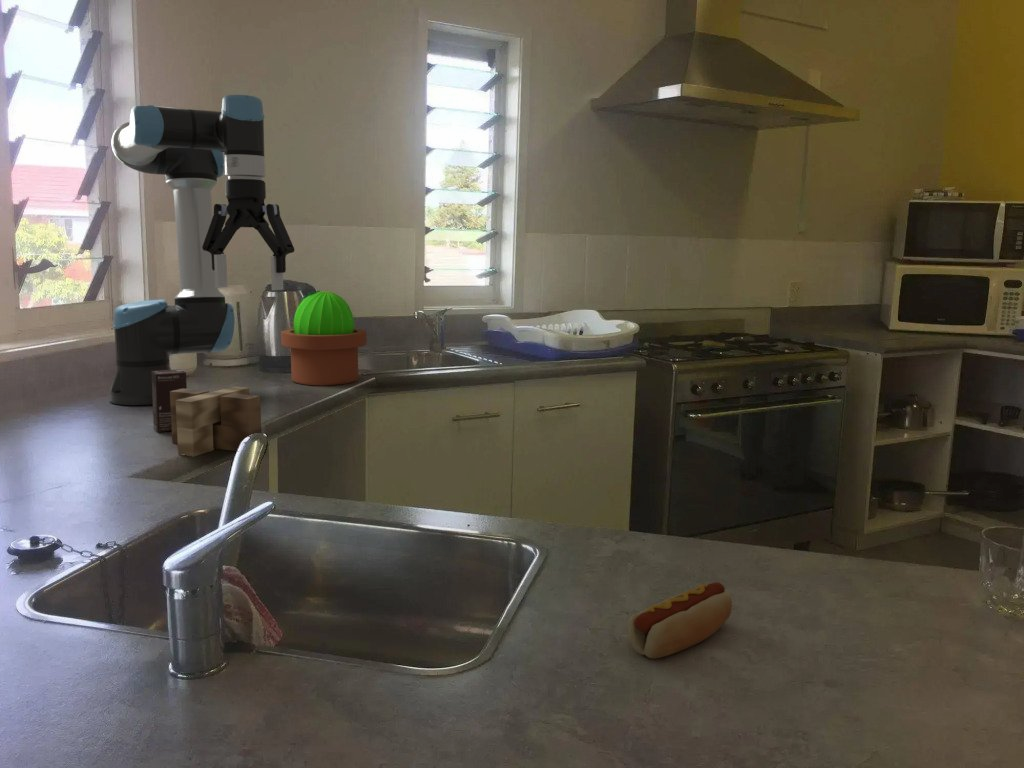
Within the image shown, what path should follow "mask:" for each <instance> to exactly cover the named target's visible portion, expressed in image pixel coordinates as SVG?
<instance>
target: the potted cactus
mask: <svg viewBox="0 0 1024 768" xmlns="http://www.w3.org/2000/svg"><path fill="white" fill-rule="evenodd" d="M346 300H347V299H344V298H343V297H342V296H340V295H339V294H337V293H335V291H329V290H327V291H325V290H323V291H321V290H316V291H314V290H312V291H310V292H308V293H307V295H304V296H303V297H302V298H301V300H299V302H298V303H299V304H298V305H297V306H295V307H294V308H296V309H295V310H296V311H295V312H294V318H293V322H292V323H291V324H292V325H293V326H292V325H291V328H290V329H289V328H288V329H285V330H282V331H281V332H280V338H281V346H283V347H285V348H288V349H289V348H290V366H291V367H290V368H291V369H290V370H291V371H290V372H291V381H292V382H294V383H296V384H300V385H307V386H318V387H319V386H323V387H324V386H338V385H344V384H351V383H354V382H357V381H358V380H359V348H360V347H361V348H362V347H365V346H366V345H367V343H368V342H367V339H368V338H367V336H368V335H367V331H366V330H365V329H360V328H355V327H356V326H357V324H355V319H354V314H353V313H352V311H353V309H352V310H351V307H350V306H351V304H349V303H347V302H346ZM300 301H301V302H300Z"/></svg>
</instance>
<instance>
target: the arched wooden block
mask: <svg viewBox="0 0 1024 768" xmlns="http://www.w3.org/2000/svg"><path fill="white" fill-rule="evenodd" d="M232 393H234V394H244V395H250V387H243V386H231V387H227V388H224V389H218V390H214V391H209V393H205V394H200V395H196V396H192V397H187V398H183V399H179V400H176V420H177V440H178V444H177V455H178V454H185V455H186V457H193V458H194V457H197V456H200V455H204V454H207V453H209V452H212V451H214V450H215V448H214V447H213V424H214V423H217V422H221V408H220V396H224V395H228V394H232ZM185 455H184V456H185Z"/></svg>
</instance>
